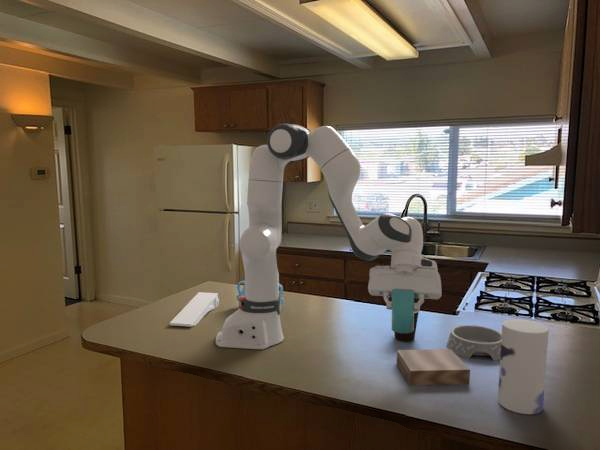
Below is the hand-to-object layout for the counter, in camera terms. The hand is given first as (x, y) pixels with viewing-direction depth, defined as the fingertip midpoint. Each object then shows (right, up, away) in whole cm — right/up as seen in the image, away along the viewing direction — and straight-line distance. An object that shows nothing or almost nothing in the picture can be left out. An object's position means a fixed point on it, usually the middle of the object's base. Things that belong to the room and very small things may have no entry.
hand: (402, 309), depth 129 cm
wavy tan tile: (+9, -18, +3) cm, 20 cm away
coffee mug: (+7, -15, +31) cm, 35 cm away
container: (+25, -21, -14) cm, 36 cm away
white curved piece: (-68, -12, +53) cm, 87 cm away
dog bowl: (+28, -17, +21) cm, 38 cm away
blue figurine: (-44, -11, +61) cm, 76 cm away
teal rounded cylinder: (0, -6, +1) cm, 6 cm away
